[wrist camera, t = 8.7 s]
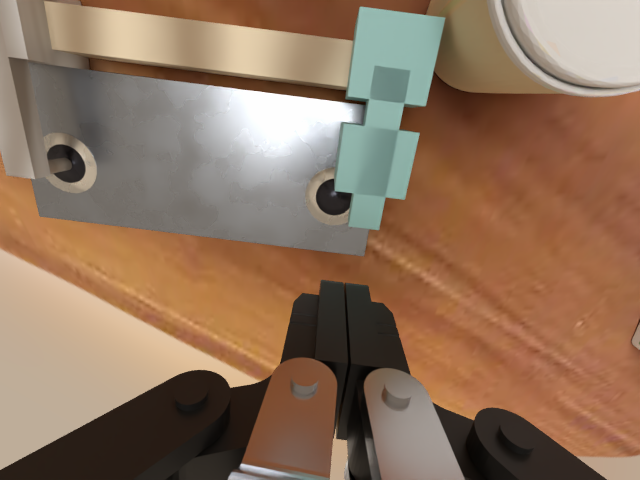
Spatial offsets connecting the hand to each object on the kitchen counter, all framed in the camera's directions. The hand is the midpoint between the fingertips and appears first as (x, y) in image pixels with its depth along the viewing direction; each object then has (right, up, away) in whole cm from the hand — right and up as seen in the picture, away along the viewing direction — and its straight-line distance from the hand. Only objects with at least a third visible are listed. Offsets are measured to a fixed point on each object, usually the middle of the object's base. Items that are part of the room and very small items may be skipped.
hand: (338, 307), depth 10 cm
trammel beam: (-9, +12, +12) cm, 19 cm away
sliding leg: (+3, +10, +11) cm, 15 cm away
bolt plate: (-9, +8, +14) cm, 18 cm away
